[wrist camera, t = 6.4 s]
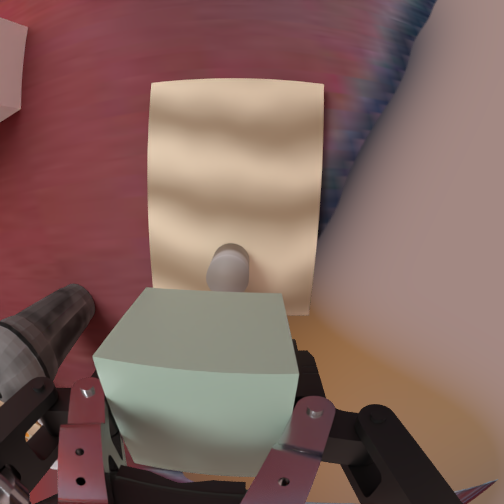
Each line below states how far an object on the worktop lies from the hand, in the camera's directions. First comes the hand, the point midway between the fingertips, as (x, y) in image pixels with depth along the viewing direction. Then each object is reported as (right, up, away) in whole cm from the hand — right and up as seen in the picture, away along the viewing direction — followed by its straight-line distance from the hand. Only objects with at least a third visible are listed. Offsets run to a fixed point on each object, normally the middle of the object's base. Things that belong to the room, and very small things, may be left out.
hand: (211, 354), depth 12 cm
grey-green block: (0, 0, 0) cm, 0 cm away
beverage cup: (-17, -1, +15) cm, 23 cm away
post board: (0, +9, +12) cm, 15 cm away
